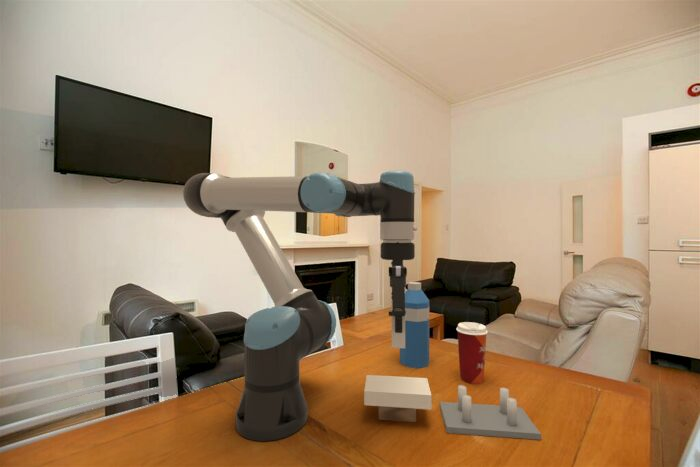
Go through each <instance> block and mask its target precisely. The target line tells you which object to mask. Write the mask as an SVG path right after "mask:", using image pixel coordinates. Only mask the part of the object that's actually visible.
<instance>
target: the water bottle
mask: <svg viewBox="0 0 700 467" xmlns="http://www.w3.org/2000/svg"><path fill="white" fill-rule="evenodd" d="M405 311H406V314H405V348H399V363H400V364H401V365H402V366H404V367H406V368H407V367H408V368H414V369H421V368H427V367H428V366H429V364H430V299H429V298H428V297H427V295H426V294H425V292H424V291H423V290H422V282H418V281H410V282H408V283H407V290H406V291H405Z"/></svg>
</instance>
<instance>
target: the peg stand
mask: <svg viewBox="0 0 700 467" xmlns="http://www.w3.org/2000/svg"><path fill="white" fill-rule="evenodd" d="M517 404H518V403H517V399H516V398H514V397H510V390H509V389H508V388H506V387H499V405H495V404H481V403H472V396H470V395H468V394H467V386H465V385H463V384H460V385H457V402H450V401H448V402H447V401H439V409H440V412H441V413H440V414H441V415H442V416H441V417H442V420H443V423H444V427H445V431H446V433H447V434H457V435H468V436H469V435H470V436H471V435H472V436H481V437H482V436H485V437H486V436H487V437H497V438H511V439H523V440H524V439H525V440H535V441H536V440H537V441H538V440H539V441H541V440H542V433H541V431H540V430H539V429H538V428H537V427H536V425H535V424H534V422H533V421H532V420H531V418H530V417H529V415H528V414H527V413H526V411H525V410H524V409H523V407H522V406H517Z"/></svg>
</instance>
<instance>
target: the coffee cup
mask: <svg viewBox="0 0 700 467" xmlns="http://www.w3.org/2000/svg"><path fill="white" fill-rule="evenodd" d="M455 329H456V331H457V342H458V343H457V344H458V345H457V346H458V361H459V362H458V363H459V374H460V380H462V381H463V382H464V383H467V384H471V385H480V384H482V383H483V382H484V377H485V365H486V364H485V362H486V347H487V346H486V345H487V344H486V343H487V334H488V330H487V327H486V325H484V324H482V323H478V322H474V321H473V322H470V321H464V322H463V321H462V322H459V323H458V324H457V327H456V328H455Z"/></svg>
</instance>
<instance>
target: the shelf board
mask: <svg viewBox="0 0 700 467" xmlns="http://www.w3.org/2000/svg"><path fill="white" fill-rule="evenodd" d="M363 392H364V393H363V394H364V395H363V398H364V399H363V400H364V401H363V403H364V406H371V407H372V406H373V407H379V406H385V407H400V408H415V409H416V410H431V411H432V392H431V389H430V385H429V380H428V378H427V377H413V376H412V377H411V376H394V375H377V374H375V375H374V374H366V379H365V386H364V390H363Z"/></svg>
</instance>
